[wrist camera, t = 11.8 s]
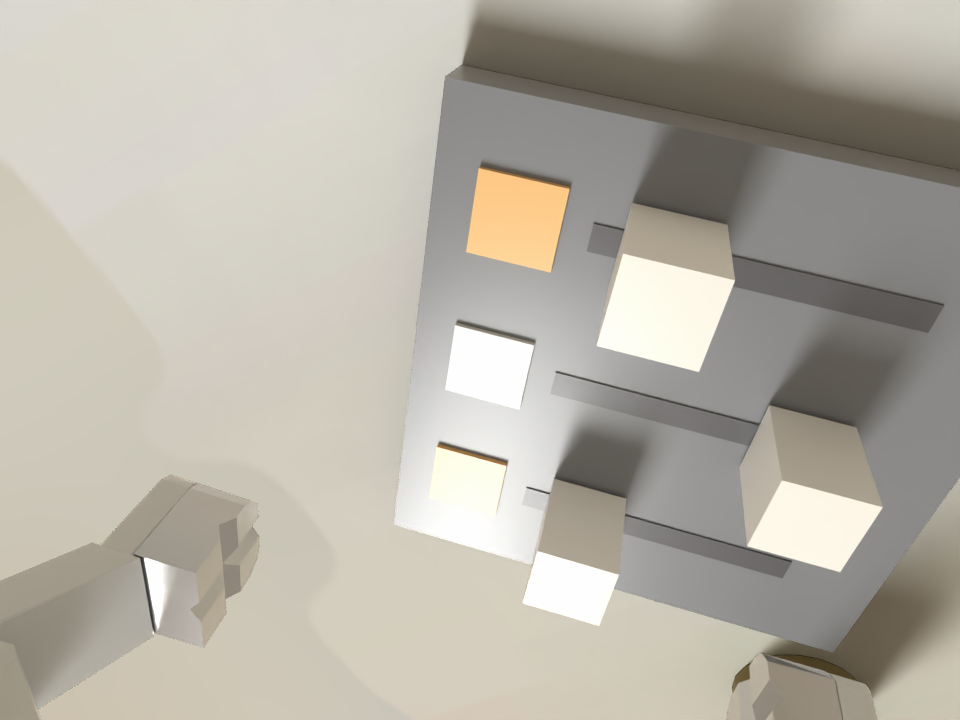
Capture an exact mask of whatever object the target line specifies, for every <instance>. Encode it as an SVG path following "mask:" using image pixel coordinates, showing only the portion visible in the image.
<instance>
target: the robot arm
mask: <svg viewBox="0 0 960 720" xmlns="http://www.w3.org/2000/svg"><path fill="white" fill-rule="evenodd" d="M258 517H259V516H258V505H257V503H256V502H253V501H250V500H247V499H245V498H242V497H239V496H235V495H233V494H230V493H227V492H223V491H221V490H218V489H214V488H211V487H208V486H205V485H202V484H199V483H196V482H193V481H190V480H186V479H183V478H180V477H177V476H174V475H169V476H167V477H165V478H164V479H162V480H160V481H159V482H158V483H157V484H156V486H155V487H154V488H153V489H152V490H151V491H150V492H149V493H148V494H147V495H146V496H145V497H144V498H143V500H142V501H141V502H140V503H139V504H138V505H137V506H136V507H135V508H134V509H133V510H132V512H131V513H130V514H129V515H128V516H127V517H126V518H125V519H124V520H123V521H122V522H121V523H120V525H119V526H118V527H117V528H116V529H115V530H114V531H113V532H112V533H111V534H110V536H108V537H107V538H106V540H105V541H104V542H103V543H102V544H101V545H99V544H95V543H90V544H88V545H85V546H83V547H80V548H78V549H76V550H73V551H71V552H68V553H66V554H64V555H61V556H59V557H57V558H54V559H52V560H49V561H47V562H44V563H42V564H40V565H37V566H35V567H32V568H30V569H28V570H25V571H23V572H20V573H18V574H16V575H13V576H11V577H8V578H6V579H4V580H1V581H0V720H42V719H41V716H40V714H39V711H38V709H40V708H41V707H43V706H44V705H46V704H48V703H49V702H51V701H52V700H54V699H55V698H57V697H59V696H60V695H62V694H63V693H65V692H66V691H68V690H70V689H71V688H73V687H74V686H76V685H78V684H79V683H81V682H82V681H84V680H85V679H87V678H89V677H90V676H92V675H93V674H95V673H97V672H98V671H99V670H101V669H103V668H104V667H106V666H108V665H109V664H111V663H112V662H114V661H115V660H117V659H119V658H120V657H122V656H123V655H125V654H127V653H128V652H130V651H131V650H133V649H134V648H136V647H138V646H139V645H141V644H142V643H144V642H146V641H147V640H149V639H150V638H152V637H153V636H154V633H156V634H159V635H163V636H166V637H169V638H173V639H176V640H180V641H183V642H186V643H189V644H193V645H196V646H200V647H205V645H206V644H207V642H208V641H209V639H210V638H211V636H212V634H213V633H214V631H215V630H216V628H217V627H218V625H219V624H220V622H221V621H222V619H223V618H224V616H225V615H226V601H225V600H226V598H228V597H230V596H232V595H234V594H236V593H238V592H240V591H241V590H242V589H243V587H244V585H245V584H246V582H247V581H248V579H249V577H250V575H251V573H252V571H253V568H254V566H255V563H256V561H257V557H258V552H259V546H260V545H259V535H258V534H257V532H256V531H255V529H254V528H253V527H252V526H253V524H254V523H255V522H256V520H257V519H258ZM749 670H750V679H749V680H746V681H743V682H740V683H738V685H737V687H736V689H735V690H734V692H733V694H732V696H731V699H730V703H729V707H728V711H727V718H726V720H878V719H877V715H876V711H875V707H874V703H873V699H872V694H871V691H870V690H869V688H868V687H867V685H866V684H864V683H861V682H857V681H854V680H851V679H847V678H844V677H841V676H837V675H834V674H830V673H827V672H826V671H823V670H819V669H816V668H813V667H809V666H806V665H802V664H799V663H795V662H792V661H788V660H785V659H781V658H778V657H774V656H771V655H767V654H764V653H761V654H759V655H757V656H755V658H754V659H753V661H752V663H751V664H750V666H749Z"/></svg>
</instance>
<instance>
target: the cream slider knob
mask: <svg viewBox="0 0 960 720" xmlns="http://www.w3.org/2000/svg"><path fill="white" fill-rule="evenodd" d="M734 282H735V276H734V269H733V261H732V254H731V246H730V239H729V232H728V225H727V224H722V223H718V222H714V221H709V220H705V219H701V218H696V217H692V216H687V215H683V214H679V213H674V212H670V211H666V210H661V209H657V208H653V207H648V206H644V205H639V204H635V203H632V205H631V208H630V212H629V215H628V219H627V222H626V226H625V229H624V233H623V237H622V240H621V244H620V247H619V251H618V254H617V258H616V261H615V265H614V268H613V272H612V275H611V279H610V283H609V286H608V291H607V296H606V301H605V306H604V311H603V316H602V321H601V326H600V331H599V336H598V341H597V346H598V347H602V348H606V349H610V350H614V351H618V352H622V353H626V354H630V355H634V356H638V357H642V358H646V359H649V360H653V361H657V362H661V363H665V364H669V365H673V366H677V367H681V368H685V369H689V370H693V371H697V372H699V371H700V368H701V366H702V363H703V361H704V358H705V355H706V353H707V350H708V348H709V345H710V343H711V340H712V338H713V335H714V333H715V330H716V328H717V325H718V322H719V320H720V317H721V315H722V312H723V310H724V307H725V305H726V302H727V300H728V297H729V295H730V292H731V289H732V287H733V284H734Z"/></svg>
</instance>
